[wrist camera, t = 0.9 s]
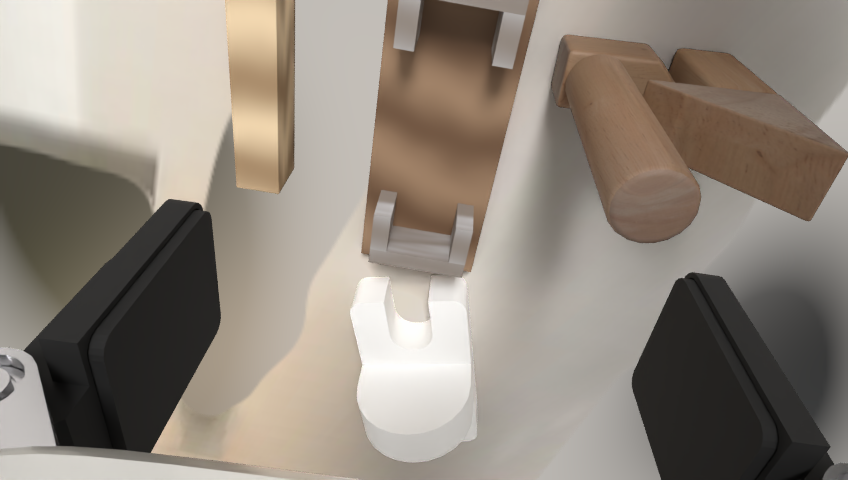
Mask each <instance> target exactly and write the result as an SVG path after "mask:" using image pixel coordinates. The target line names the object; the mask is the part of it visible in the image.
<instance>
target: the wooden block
mask: <svg viewBox="0 0 848 480" xmlns="http://www.w3.org/2000/svg"><path fill="white" fill-rule="evenodd" d="M551 86H552V91H553V94H554V98H555V101H556V105H557V106H559V107H564V108H571V111H572V114H573V117H574V120H575V123H576V126H577V129H578V132H579V135H580V138H581V141H582V144H583V147H584V151H585V154H586V157H587V160H588V163H589V166H590V169H591V172H592V175H593V178H594V181H595V184H596V187H597V190H598V193H599V196H600V199H601V202H602V205H603V208H604V211H605V214H606V218H607V221H608V223H609V224H610V225H611V227H612V228H613V229H614V231H615V232H617V233H618V234H620V235H621V236H623V237H624V238H626V239H628V240H631V241H635V242H639V243H656V242H660V241H664V240H668V239H670V238H672V237H674V236H675V235H677V234H679V233H681V232H682V231H683V230H684V229H685V228H687V227H688V226H689V225H690V224H691V222H692V221H693V219H694V218H695V216H696V215H697V213H698V209H699V205H700V201H701V193H700V187H699V184H698V183H697V181H696V180H695V178H694V177H693V175H692V173H691V172H690V170H689V169H688V168H690V169H693V170H695V171H697V172H699V173H701V174H704V175H706V176H708V177H710V178H712V179H715V180H717V181H719V182H721V183H723V184H726V185H728V186H730V187H732V188H734V189H737V190H739V191H741V192H743V193H745V194H748V195H750V196H752V197H754V198H756V199H759V200H761V201H763V202H766V203H768V204H770V205H772V206H774V207H776V208H779V209H781V210H783V211H785V212H787V213H790V214H792V215H794V216H796V217H798V218H801V219H803V220H805V221H810V220H811V219H812V218H813V216H814V214H815V212H816V211H817V209H818V207H819V206H820V204H821V202H822V200H823V199H824V197H825V195H826V193H827V192H828V190H829V188H830V187H831V185H832V183H833V182H834V180H835V178H836V177H837V175H838V173H839V171H840V170H841V168H842V166H843V165H844V163H845V161H846V159H847V158H848V152H847V151H846V150H845V149H843V148H842V147H841V146H840V145H839V144H838V143H836V142H835V141H834V140H833V139H832V138H830V137H829V136H828V135H827V134H826V133H824V132H823V131H822V130H821V129H820V128H819V127H817V126H816V125H815V124H814V123H813V122H811V121H810V120H809V119H808V118H807V117H805V116H804V115H803V114H802V113H801V112H800V111H798V110H797V109H796V108H795V107H794V106H792V105H791V104H790V103H789V102H788V101H786V100H785V99H784V98H783V97H782V96H780V95H777V93H776V92H775V91H774V90H772V89H771V88H770V87H769V86H768V85H767V84H765V83H764V82H763V81H762V80H761V79H759V78H758V77H757V76H756V75H755V74H754V73H752V72H751V71H750V70H749V69H748V68H746V67H745V66H744V65H743V64H742V63H741V62H739V61H738V60H737V59H736V58H735V57H733V56H732V55H731V54H728V53H719V52H711V51H702V50H694V49H685V48H682V49H678V50H677V52H676V53H675V56H674V59H673V62H672V65H671V68H670V70H669V72H668V70H667V68H666V67H665V65H664V63H663V62H662V61H661V59H660V58H659V57H658V56H657V54H656V53H655V52H654V51H653V50H652V48H651V47H650V46H649V45H647V44H642V43H634V42H625V41H617V40H608V39H600V38H592V37H583V36H575V35H565V36H563V38H562V40H561V44H560V49H559V53H558V57H557V62H556V66H555V71H554V75H553V79H552V84H551Z"/></svg>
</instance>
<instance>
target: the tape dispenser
mask: <svg viewBox="0 0 848 480" xmlns="http://www.w3.org/2000/svg"><path fill="white" fill-rule="evenodd" d="M428 305H429V312H430V319H429V320H427V321H425V322H421V323H413V322H409V321H406V320H404V319H402V318H401V317H400V316H399V315H398V313H397V312H396V309H395V305H394V299H393V293H392V288H391V282H390V277H367V278H363V279H362V280H360V281H359V283H358V286H357V289H356V293H355V296H354V300H353V303H352V307H351V310H350V315H351V320H352V324H353V328H354V332H355V336H356V340H357V344H358V349H359V353H360V357H361V361H362V369H361V374H360V378H359V382H358V386H357V401H358V405H359V409H360V412H361V416H362V420H363V424H364V428H365V431H366V435H367V438H368V439H369V441H370V442H371V444H372V445H373V447H374V448H376V449H377V450H378V451H379V452H381V453H382V454H383V455H385V456H387V457H389V458H392V459H394V460H397V461H403V462H410V463H416V462H425V461H430V460H433V459H436V458H439V457H442V456H444V455H445V454H447V453H448V452H450V451H451V450H453V449H455V448H456V447H457V446H458V445H459V443H460V442H467V441H472V440H474V439H475V438H476V437H477V393H476V381H475V369H474V357H473V345H472V332H471V320H470V308H469V296H468V285H467V282H466V280H465V279H464V278H463V277H462V278H459V277H453V276H447V275H431V282H430V290H429V298H428Z"/></svg>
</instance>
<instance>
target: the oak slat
mask: <svg viewBox="0 0 848 480" xmlns="http://www.w3.org/2000/svg"><path fill="white" fill-rule="evenodd" d="M225 8H226V24H227V40H228V56H229V72H230V88H231V103H232V119H233V135H234V150H235V167H236V182H237V187H239V188H245V189H251V190H258V191H263V192H269V193H275V194H279V193H280V191H281V189H282V187H283V186H284V184H285V183H286V181H287V179H288V178H289V176H290V174H291V173H292V171H293V169H294V148H295V147H294V146H295V141H294V139H295V134H294V133H295V0H225Z"/></svg>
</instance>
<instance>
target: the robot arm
mask: <svg viewBox="0 0 848 480" xmlns="http://www.w3.org/2000/svg"><path fill="white" fill-rule="evenodd" d="M220 319H221V312H220V302H219V292H218V281H217V271H216V261H215V251H214V240H213V230H212V219H211V215H210V213H209V212H207V211H203V208H202V206H201V205H200V204H199V203H195V202H188V201H181V200H174V199H168V200H167V201H166V202H165V203H164V204H163V205H162V206H161V207H160V208H159V209H158V210H157V211H156V212H155V213H154V214H153V216H152V217H151V218H150V219H149V220H148V221H147V222H146V223H145V224H144V225H143V226H142V227H141V228H140V230H139V231H138V232H137V233H136V234H135V235H134V236H133V237H132V238H131V239H130V240H129V241H128V243H126V244H125V246H124V247H123V248H122V249H121V250H120V251H119V252H118V253H117V254H116V255H115V256H114V257H113V258H112V259H111V260H109V261H108V262H107V263H106V264H105V265H104V266H103V267H102V268H101V269H100V270H99V271H98V272H97V273H96V274H95V275H94V276H93V277H92V278H91V280H89V282H88V283H87V284H86V285H85V286H84V287H83V288H82V289H81V290H80V291H79V292H78V293H77V294H76V295H75V296H74V298H73V299H72V300H71V301H70V302H69V303H68V304H67V305H66V306H65V307H64V308H63V309H62V310H61V311H60V312H59V314H58V315H57V316H56V317H55V318H54V319H53V320H52V321H51V322H50V323H49V324H48V325H47V326H46V327H45V328H44V329H43V330H42V332H41V333H40V334H39V335H38V336H37V337H36V338H35V339H34V340H33V341H32V342H31V343H30V344H29V345H28V347H26V349H25V350H24V351H22V350H18V349H13V348H0V480H361V479H353V478H346V477H338V476H330V475H323V474H315V473H307V472H300V471H292V470H284V469H277V468H269V467H261V466H254V465H246V464H238V463H231V462H223V461H215V460H207V459H198V458H189V457H180V456H172V455H163V454H154V453H151V451H152V449H153V447H154V446H155V444H156V442H157V440H158V438H159V437H160V435H161V433H162V431H163V429H164V428H165V426H166V424H167V422H168V420H169V419H170V417H171V415H172V413H173V411H174V409H175V408H176V406H177V404H178V402H179V400H180V399H181V397H182V395H183V393H184V391H185V390H186V388H187V386H188V384H189V382H190V380H191V379H192V377H193V375H194V373H195V371H196V370H197V368H198V366H199V364H200V362H201V361H202V359H203V357H204V355H205V353H206V351H207V350H208V348H209V346H210V344H211V342H212V341H213V339H214V337H215V335H216V333H217V331H218V329H219V325H220ZM632 388H633V393H634V396H635V399H636V402H637V405H638V408H639V411H640V414H641V418H642V420H643V424H644V427H645V430H646V433H647V436H648V440H649V443H650V446H651V449H652V452H653V455H654V458H655V461H656V464H657V468H658V471H659V474H660V477H661V480H848V463H838V464H835V465H834V463H833V461H832V460H831V458H830V457H829V455H828V453H827V451H828V449H829V448H830V445H829V444H828V443H827V441H826V439H825V438H824V436H823V434H822V433H821V432H820V430H819V428H818V427H817V425H816V423H815V422H814V420H813V419H812V417H811V415H810V414H809V412H808V411H807V409H806V408H805V406H804V405H803V403H802V401H801V400H800V398H799V396H798V395H797V394H796V392H795V391H794V389H793V387H792V385H791V384H790V382H789V381H788V380H787V378H786V376H785V374H784V373H783V371H782V370H781V368H780V367H779V365H778V363H777V362H776V360H775V359H774V357H773V356H772V354H771V352H770V351H769V349H768V348H767V346H766V344H765V343H764V341H763V340H762V338H761V337H760V335H759V333H758V332H757V330H756V329H755V327H754V326H753V324H752V322H751V321H750V319H749V318H748V316H747V315H746V313H745V311H744V310H743V308H742V307H741V305H740V304H739V302H738V300H737V299H736V297H735V296H734V294H733V293H732V291H731V289H730V288H729V286H728V285H727V283H726V281H725V280H724V279H723V278H722V277H720V276H714V275H707V274H700V273H693V272H692V273H689V274H688V275H686V276H685V278H679V279H678V280H677V281H676V282H675V284H674V286H673V288H672V290H671V292H670V294H669V297H668V299H667V301H666V303H665V305H664V307H663V310H662V312H661V314H660V316H659V318H658V320H657V323H656V325H655V327H654V329H653V331H652V333H651V336H650V338H649V340H648V342H647V344H646V346H645V349H644V351H643V353H642V355H641V357H640V359H639V362H638V364H637V366H636V368H635V370H634V373H633V377H632Z"/></svg>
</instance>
